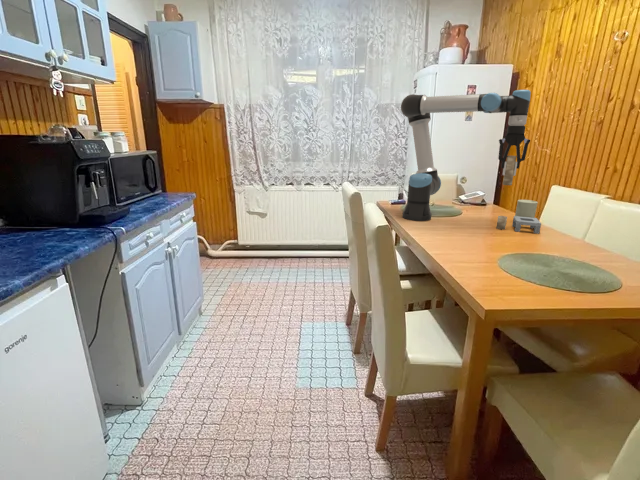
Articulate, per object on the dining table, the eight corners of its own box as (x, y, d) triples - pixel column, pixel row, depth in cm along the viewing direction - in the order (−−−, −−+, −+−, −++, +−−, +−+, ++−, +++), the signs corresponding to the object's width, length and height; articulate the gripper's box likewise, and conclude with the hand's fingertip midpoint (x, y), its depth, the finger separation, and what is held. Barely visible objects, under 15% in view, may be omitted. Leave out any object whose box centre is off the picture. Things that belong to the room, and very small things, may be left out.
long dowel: (503, 185, 172) (507, 155, 168) (502, 184, 175) (506, 155, 171) (512, 185, 170) (517, 156, 166) (511, 184, 174) (515, 155, 170)
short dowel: (496, 229, 170) (498, 217, 168) (495, 227, 173) (497, 215, 171) (505, 229, 168) (507, 217, 166) (504, 228, 172) (506, 216, 170)
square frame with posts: (515, 231, 166) (517, 221, 164) (512, 225, 177) (513, 216, 175) (539, 233, 162) (541, 223, 161) (534, 227, 173) (536, 218, 172)
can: (537, 225, 178) (542, 202, 175) (519, 224, 178) (523, 201, 175) (527, 220, 187) (531, 198, 183) (510, 220, 187) (514, 198, 184)
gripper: (497, 125, 164) (490, 175, 171) (538, 125, 158) (529, 176, 165) (496, 125, 171) (489, 173, 178) (535, 125, 165) (527, 175, 172)
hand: (508, 175), depth 171 cm, fingers closed on long dowel, 4 cm apart
